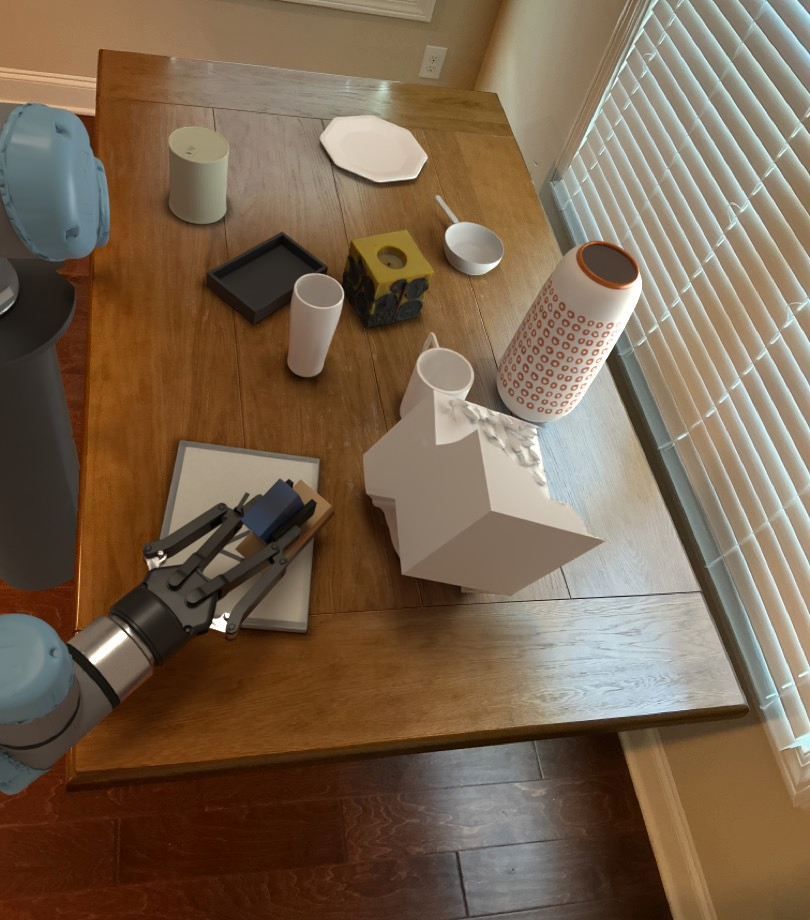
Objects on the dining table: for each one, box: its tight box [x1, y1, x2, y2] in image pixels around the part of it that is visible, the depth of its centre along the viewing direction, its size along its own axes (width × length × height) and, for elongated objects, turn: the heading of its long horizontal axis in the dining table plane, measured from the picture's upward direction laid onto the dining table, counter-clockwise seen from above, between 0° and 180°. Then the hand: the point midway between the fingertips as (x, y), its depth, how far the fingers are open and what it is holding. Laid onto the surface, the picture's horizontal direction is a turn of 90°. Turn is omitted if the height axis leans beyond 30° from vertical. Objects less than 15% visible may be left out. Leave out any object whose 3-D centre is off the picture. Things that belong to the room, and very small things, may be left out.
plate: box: [318, 114, 428, 184], centre depth 144 cm, size 20×20×2 cm
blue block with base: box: [235, 478, 335, 574], centre depth 84 cm, size 11×5×13 cm, turn 141°
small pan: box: [433, 195, 505, 276], centre depth 133 cm, size 11×18×4 cm, turn 32°
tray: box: [205, 231, 329, 325], centre depth 117 cm, size 16×10×3 cm, turn 141°
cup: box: [399, 331, 475, 419], centre depth 108 cm, size 8×12×10 cm
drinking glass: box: [286, 273, 345, 378], centre depth 105 cm, size 7×7×15 cm
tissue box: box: [362, 390, 607, 596], centre depth 90 cm, size 20×16×25 cm
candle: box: [340, 229, 435, 328], centre depth 118 cm, size 10×10×10 cm
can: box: [167, 125, 230, 225], centre depth 119 cm, size 9×9×12 cm
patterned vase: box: [496, 240, 643, 423], centre depth 106 cm, size 13×13×28 cm
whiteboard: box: [158, 439, 321, 634], centre depth 92 cm, size 18×24×1 cm
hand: (301, 497), depth 84 cm, fingers closed on blue block with base, 3 cm apart
